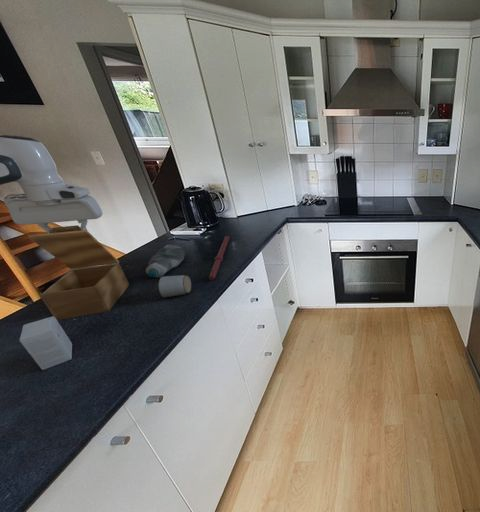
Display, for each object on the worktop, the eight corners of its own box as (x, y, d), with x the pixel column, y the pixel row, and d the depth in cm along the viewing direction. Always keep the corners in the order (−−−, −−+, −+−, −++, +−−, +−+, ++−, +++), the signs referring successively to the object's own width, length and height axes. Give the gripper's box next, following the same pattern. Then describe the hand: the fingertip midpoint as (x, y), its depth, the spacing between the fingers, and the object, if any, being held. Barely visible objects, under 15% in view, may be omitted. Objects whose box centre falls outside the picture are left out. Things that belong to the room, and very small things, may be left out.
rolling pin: (217, 280, 111) (215, 274, 110) (208, 281, 110) (206, 275, 109) (231, 239, 149) (230, 234, 148) (224, 240, 148) (223, 235, 147)
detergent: (160, 257, 129) (132, 283, 107) (156, 243, 126) (127, 267, 104) (192, 256, 132) (171, 281, 111) (189, 242, 130) (167, 266, 108)
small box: (44, 354, 76) (22, 324, 71) (73, 343, 79) (54, 315, 74) (41, 371, 71) (17, 340, 66) (72, 359, 74) (52, 329, 69)
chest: (109, 310, 93) (96, 286, 88) (56, 320, 88) (39, 295, 84) (129, 285, 107) (119, 263, 103) (84, 291, 103) (71, 269, 98)
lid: (85, 231, 88) (89, 220, 90) (28, 237, 83) (33, 225, 86) (118, 262, 103) (120, 252, 105) (71, 269, 98) (74, 257, 100)
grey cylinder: (189, 297, 101) (182, 279, 97) (162, 301, 98) (155, 283, 95) (196, 283, 109) (190, 266, 106) (172, 286, 107) (165, 269, 104)
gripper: (-9, 197, 78) (19, 241, 84) (84, 192, 85) (103, 233, 91) (8, 192, 83) (33, 234, 89) (94, 188, 90) (112, 227, 97)
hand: (69, 233), depth 90 cm, fingers closed on lid, 6 cm apart
